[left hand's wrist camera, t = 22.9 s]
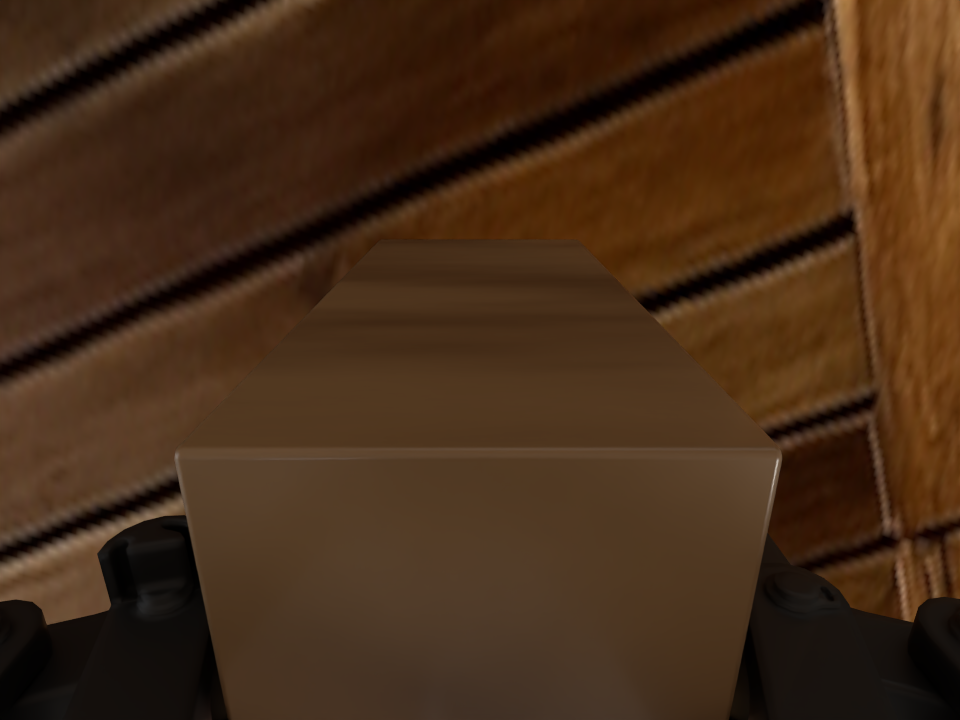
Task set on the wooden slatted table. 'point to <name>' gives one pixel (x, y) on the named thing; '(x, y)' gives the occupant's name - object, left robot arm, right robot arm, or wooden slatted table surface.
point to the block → (478, 502)
